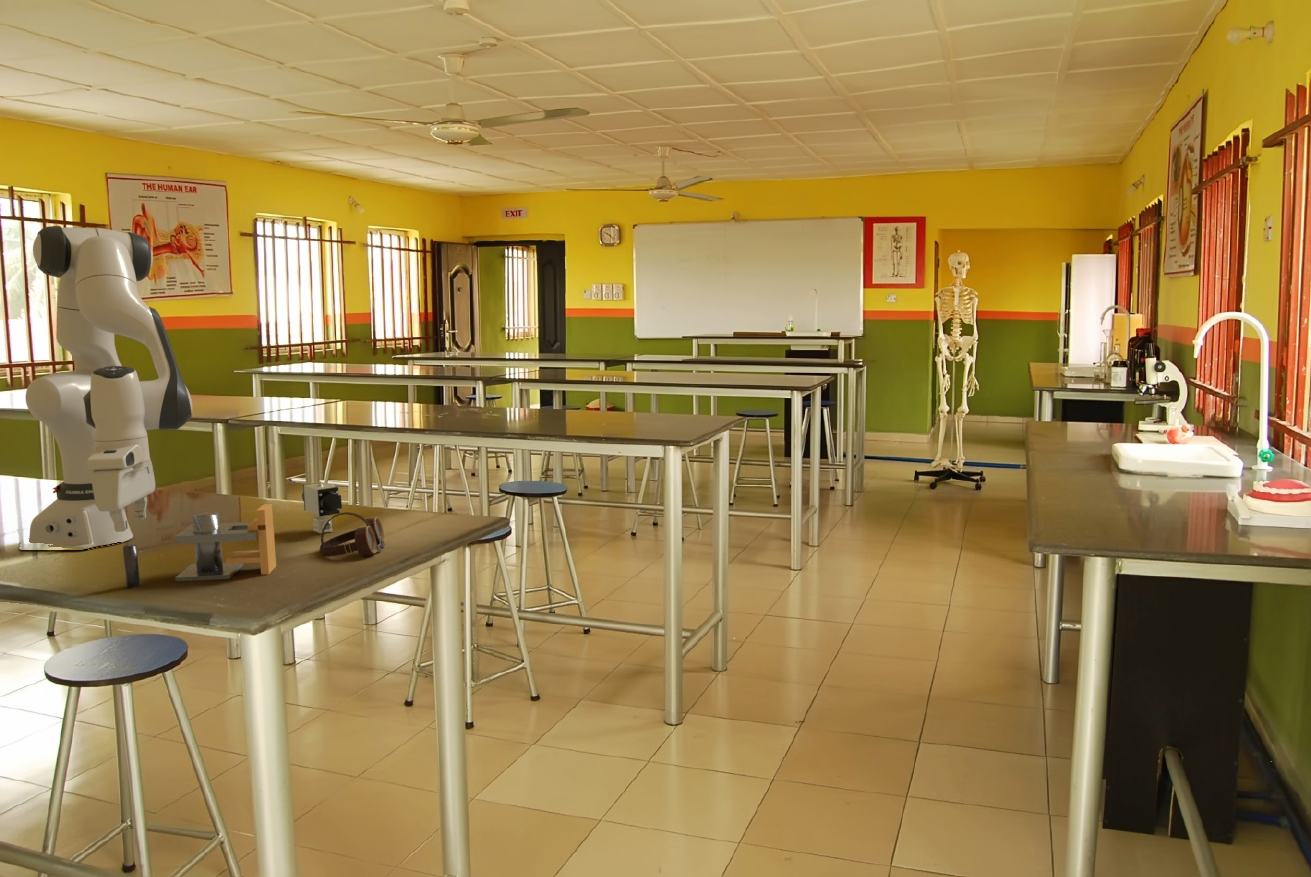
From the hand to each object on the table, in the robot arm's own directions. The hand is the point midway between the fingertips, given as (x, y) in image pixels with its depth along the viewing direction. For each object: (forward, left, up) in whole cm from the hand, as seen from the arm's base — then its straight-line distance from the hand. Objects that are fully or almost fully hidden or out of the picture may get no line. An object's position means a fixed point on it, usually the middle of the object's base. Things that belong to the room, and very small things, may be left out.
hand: (131, 525), depth 190 cm
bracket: (+19, +7, -12) cm, 24 cm away
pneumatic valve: (+27, +40, -12) cm, 50 cm away
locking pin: (-1, 0, -12) cm, 12 cm away
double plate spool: (+14, +7, -12) cm, 20 cm away
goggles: (+37, +20, -12) cm, 44 cm away
